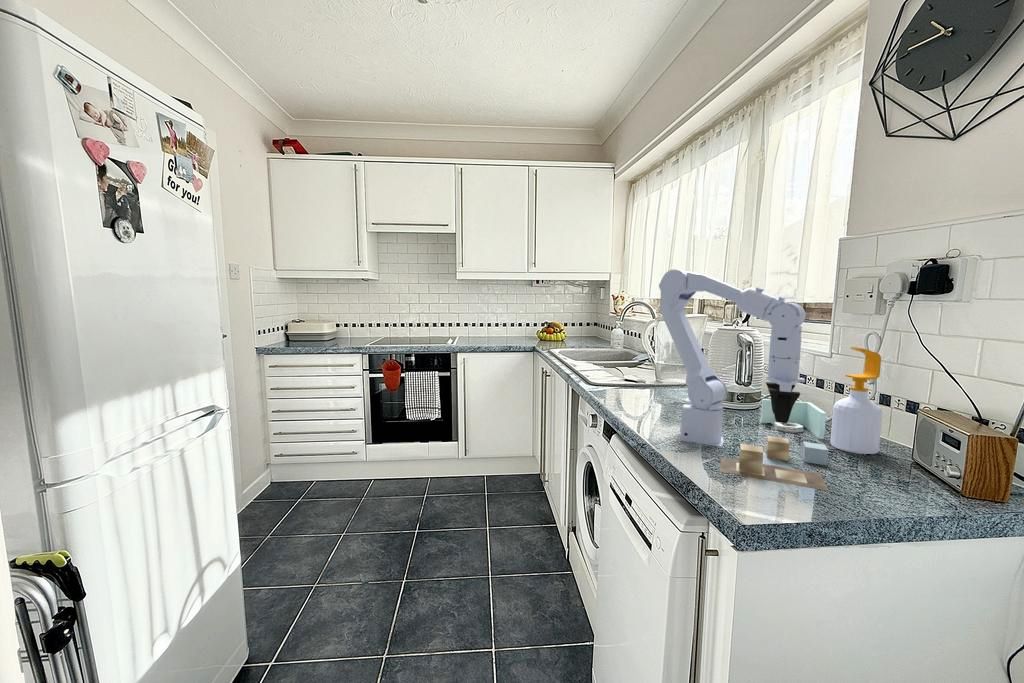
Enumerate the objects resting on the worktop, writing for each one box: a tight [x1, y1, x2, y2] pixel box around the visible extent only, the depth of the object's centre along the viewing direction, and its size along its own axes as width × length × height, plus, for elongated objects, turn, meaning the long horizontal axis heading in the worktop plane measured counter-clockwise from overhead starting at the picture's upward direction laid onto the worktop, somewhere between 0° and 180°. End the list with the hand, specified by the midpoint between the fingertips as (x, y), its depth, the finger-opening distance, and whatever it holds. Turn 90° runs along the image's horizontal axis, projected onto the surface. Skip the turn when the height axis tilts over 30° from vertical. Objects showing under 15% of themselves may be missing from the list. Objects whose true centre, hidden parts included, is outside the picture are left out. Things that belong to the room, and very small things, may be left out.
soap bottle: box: [830, 346, 883, 456], centre depth 101 cm, size 9×9×25 cm
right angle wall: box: [760, 398, 827, 440], centre depth 116 cm, size 12×12×8 cm
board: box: [719, 457, 829, 492], centre depth 86 cm, size 18×9×1 cm, turn 62°
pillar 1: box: [738, 443, 764, 474], centre depth 87 cm, size 4×4×4 cm
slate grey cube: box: [801, 441, 829, 466], centre depth 92 cm, size 4×4×4 cm
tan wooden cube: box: [765, 435, 790, 462], centre depth 95 cm, size 4×4×4 cm
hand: (779, 417), depth 94 cm, fingers open, 7 cm apart
